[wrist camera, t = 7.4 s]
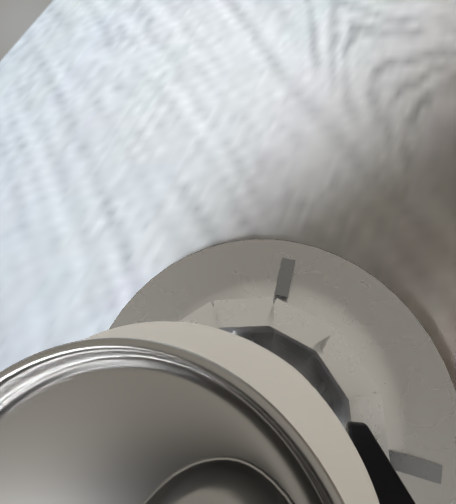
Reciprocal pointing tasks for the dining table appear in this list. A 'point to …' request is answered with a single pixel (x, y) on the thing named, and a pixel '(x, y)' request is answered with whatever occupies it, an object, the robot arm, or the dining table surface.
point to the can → (171, 424)
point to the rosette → (325, 343)
